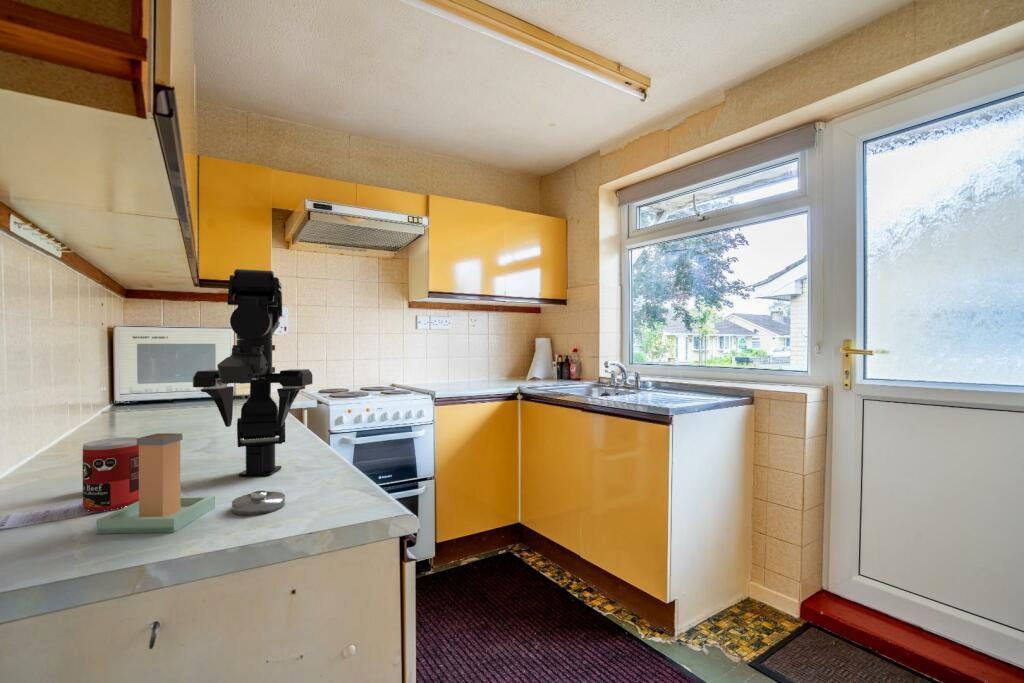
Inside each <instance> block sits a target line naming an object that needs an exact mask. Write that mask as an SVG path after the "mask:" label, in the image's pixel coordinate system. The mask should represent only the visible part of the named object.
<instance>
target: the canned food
mask: <svg viewBox="0 0 1024 683" xmlns="http://www.w3.org/2000/svg"><path fill="white" fill-rule="evenodd" d="M137 438H138V437H137V436H136V437H134V436H133V437H132V436H131V437H130V436H129V437H128V436H127V437H125V436H124V437H113V438H102V439H98V440H92V441H88V442H85V443H84V444H82V506H83V510H85V509H86V510H89V511H88V512H90V511H101V512H107V511H106V510H110V511H112V510H111V509H116V510H118V509H117V508H121V507H125V506H129V505H131V504H133V503H136V502H138V501H139V445H137ZM121 509H122V508H121ZM86 510H85V511H86ZM104 510H105V511H104Z"/></svg>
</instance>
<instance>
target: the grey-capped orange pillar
mask: <svg viewBox="0 0 1024 683" xmlns="http://www.w3.org/2000/svg"><path fill="white" fill-rule="evenodd" d="M182 440H183V433H182V432H181V433H165V432H164V433H163V432H161V433H160V432H159V433H158V432H157V433H153V434H148V435H145V436H141V437H137V445H139V517H169V516H171V515H173V514H175V513H177V512H179V511H180V496H181V441H182Z"/></svg>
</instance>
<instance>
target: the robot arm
mask: <svg viewBox="0 0 1024 683" xmlns="http://www.w3.org/2000/svg"><path fill="white" fill-rule="evenodd" d="M227 305H228V306H237V307H236V308H235V309H234V310H233V312H232V313H231V315H230V318H229V323H230V327H231V329H232V331H233V332H234V333H235V335H236V342H235V344H234V345H232V348H231V354H230V356H227V357H226V358H224V359H223V360H221V362H219V363H218V364H216V365H217V369H208V370H197V371H196V372H195V373H194V375H193V376H192V388H200V392H201V393H206V394H207V395H208V396H210V398H212V400H213V401H214V403H215V406H216V407H217V410H218V412H219V414H220V417H221V419H222V421H223V424H224V425H225V427H226V428H229V427H231V426H232V424H233V422H232V421H233V416H234V415H233V413H234V412H233V409H234V389H235V388H234V386H231V385H230V386H228V385H229V384H243V385H245V384H249V396H248V399H247V400H246V401H245V402H244V403H243V405H242V406H241V408H240V417H237V420H236V421H237V423H236V433H237V435H236V436H237V437H236V440H237V448H243V447H245V470H243V471H241V472H239V473H238V474H237V476H238V477H254V476H255V477H256V476H257V477H258V476H259V477H260V476H261V477H262V476H271V475H273V474H274V473H276V472H278V471H279V470H280V469H282V465H276V445H278V444H279V445H282V444H283V443H286V419H287V417H288V414H289V412H290V410H291V408H292V405H293V404H294V402H295V400H296V397H297V396H298V394H299V392H300V391H301V390H305V389H306V386H309V385H313V373H312V371H311V370H310V369H307V368H305V369H304V368H302V369H296V368H295V369H292V368H291V369H285V370H284V369H283V370H280V371H279V372H276V366H273V352H274V351H276V345H275V344H273V335H274V333H275V332H276V330H277V329H278V328H279V326H280V317H281V318H283V291H282V283H281V282H280V279H279V277H278V276H277V277H276V276H275V273H274V271H273V270H263V269H262V270H260V269H245V268H244V269H243V268H241V269H239V268H236V269H234V270H233V274H232V275H231V274H230V275H229V281H228V291H227ZM272 384H279V385H280V386H281V387H280V388H276V391H277V394H278V404H276V402H275V400H274V399H273V397H272Z"/></svg>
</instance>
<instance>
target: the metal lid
mask: <svg viewBox="0 0 1024 683" xmlns="http://www.w3.org/2000/svg"><path fill="white" fill-rule="evenodd" d="M284 506H286V496H285V494H284V493H283V492H280V491H266V490H257V491H252V492H251V493H247V494H244V495H241V496H238V497H236V498H234V499H233V500H232V501H231V513H232V514H233V515H234V516H235V515H236V516H243V517H245V516H246V517H250V516H252V515H253V516H260V515H259V514H261V515H266V514H270V513H273V511H274V512H276V511H279V510H280V509H281V510H282V508H283V507H284ZM269 512H270V513H269ZM265 513H266V514H265Z"/></svg>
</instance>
